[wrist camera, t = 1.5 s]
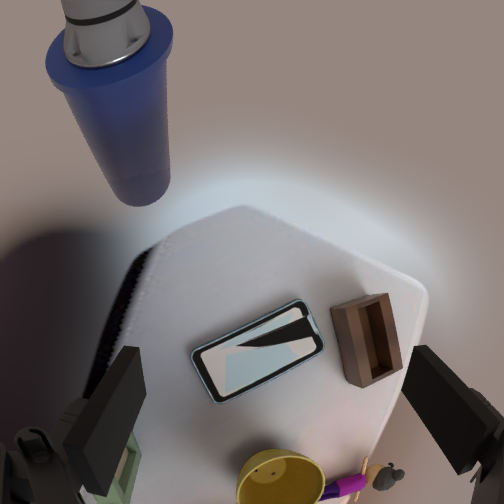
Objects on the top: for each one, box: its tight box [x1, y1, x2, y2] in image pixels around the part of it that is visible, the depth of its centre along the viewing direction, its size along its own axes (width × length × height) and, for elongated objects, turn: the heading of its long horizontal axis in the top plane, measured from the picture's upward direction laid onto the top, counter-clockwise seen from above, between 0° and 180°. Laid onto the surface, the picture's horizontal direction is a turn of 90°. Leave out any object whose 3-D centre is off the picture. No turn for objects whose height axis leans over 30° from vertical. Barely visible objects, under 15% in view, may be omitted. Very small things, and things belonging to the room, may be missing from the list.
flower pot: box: [236, 449, 325, 504], centre depth 30 cm, size 10×10×7 cm
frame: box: [92, 431, 141, 504], centre depth 25 cm, size 8×2×13 cm, turn 15°
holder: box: [330, 293, 403, 388], centre depth 37 cm, size 10×6×4 cm, turn 15°
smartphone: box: [191, 300, 325, 404], centre depth 36 cm, size 7×1×15 cm
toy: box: [318, 457, 405, 502], centre depth 33 cm, size 10×6×15 cm
